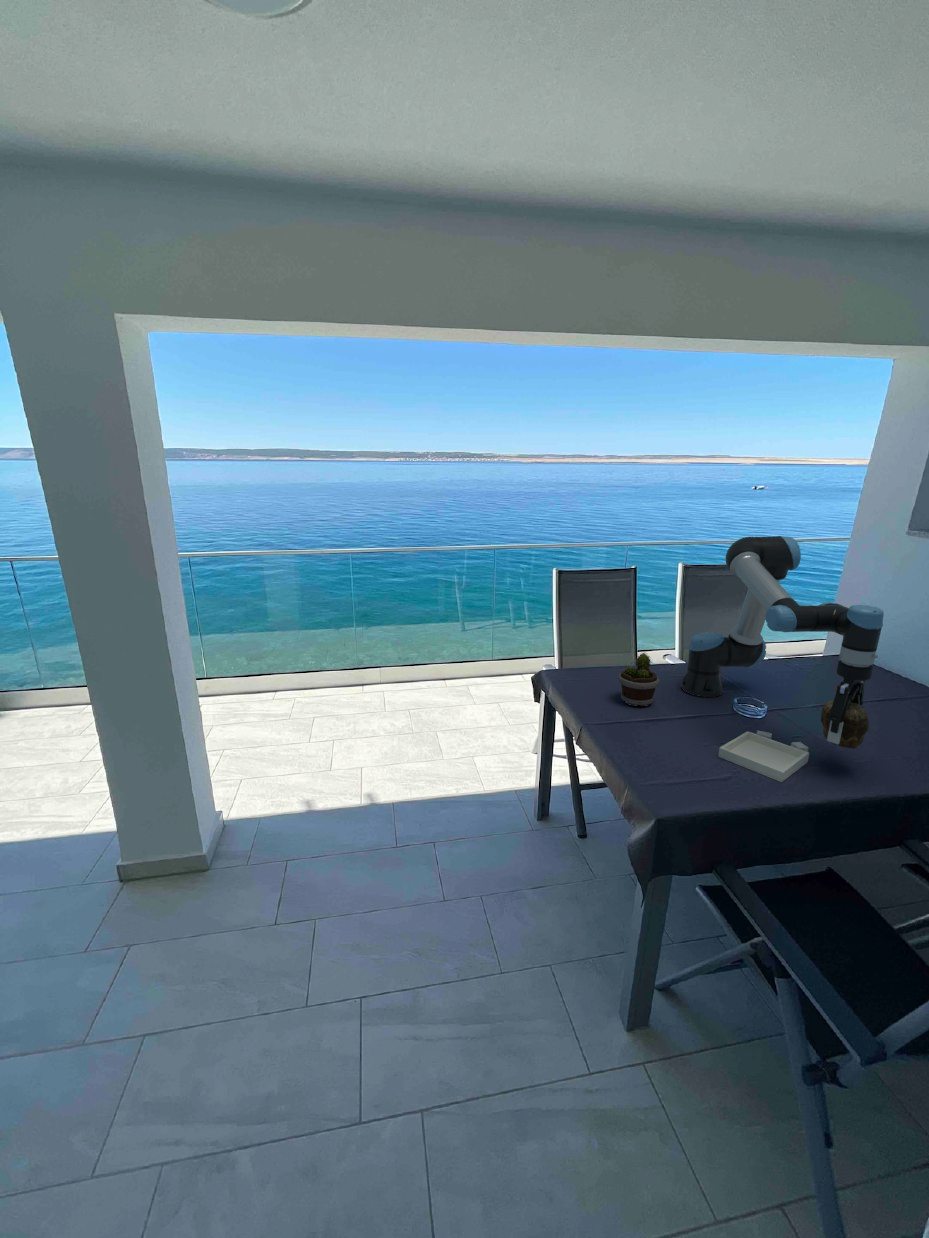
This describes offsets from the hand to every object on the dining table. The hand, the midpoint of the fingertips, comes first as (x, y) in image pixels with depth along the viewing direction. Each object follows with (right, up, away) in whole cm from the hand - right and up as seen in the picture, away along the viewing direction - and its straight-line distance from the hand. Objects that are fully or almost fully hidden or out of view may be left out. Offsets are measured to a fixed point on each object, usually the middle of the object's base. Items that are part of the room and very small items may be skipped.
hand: (840, 735), depth 142 cm
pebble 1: (-10, -6, +20) cm, 23 cm away
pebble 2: (-3, -8, +13) cm, 16 cm away
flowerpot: (-40, +1, +50) cm, 65 cm away
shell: (0, -2, 0) cm, 2 cm away
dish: (-17, -9, +8) cm, 21 cm away
